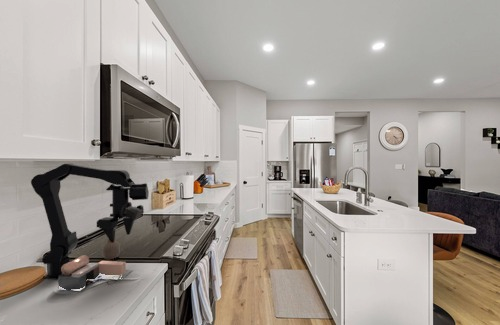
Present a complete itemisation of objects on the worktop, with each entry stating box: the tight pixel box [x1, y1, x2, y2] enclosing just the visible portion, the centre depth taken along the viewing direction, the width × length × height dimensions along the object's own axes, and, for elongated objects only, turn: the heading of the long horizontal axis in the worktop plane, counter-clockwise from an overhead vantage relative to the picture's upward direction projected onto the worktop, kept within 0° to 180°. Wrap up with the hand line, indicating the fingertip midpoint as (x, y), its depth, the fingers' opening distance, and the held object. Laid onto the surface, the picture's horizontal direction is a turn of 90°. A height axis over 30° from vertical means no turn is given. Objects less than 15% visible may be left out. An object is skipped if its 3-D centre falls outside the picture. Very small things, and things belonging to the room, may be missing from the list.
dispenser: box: [57, 254, 99, 290], centre depth 77 cm, size 8×8×9 cm
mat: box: [116, 269, 134, 282], centre depth 83 cm, size 13×7×1 cm, turn 84°
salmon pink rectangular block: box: [98, 260, 127, 275], centre depth 83 cm, size 10×2×4 cm, turn 84°
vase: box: [101, 238, 121, 261], centre depth 97 cm, size 7×7×9 cm
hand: (120, 238), depth 89 cm, fingers open, 9 cm apart
